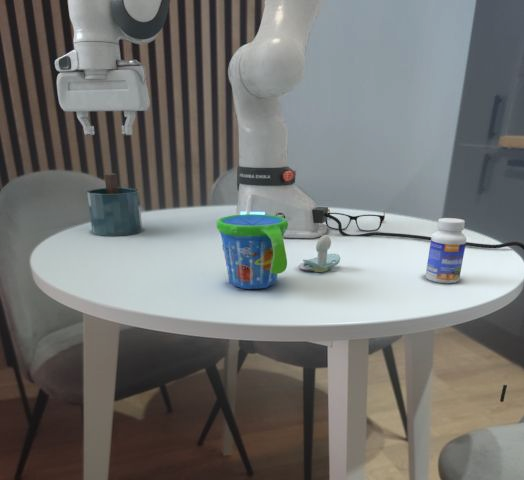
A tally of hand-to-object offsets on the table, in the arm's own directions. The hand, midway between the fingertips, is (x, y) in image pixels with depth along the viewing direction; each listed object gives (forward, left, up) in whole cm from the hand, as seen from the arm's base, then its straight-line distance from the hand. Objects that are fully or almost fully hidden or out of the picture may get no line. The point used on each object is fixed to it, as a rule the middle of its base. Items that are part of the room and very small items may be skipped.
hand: (108, 134), depth 107 cm
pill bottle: (-72, +15, -21) cm, 76 cm away
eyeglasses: (-51, -26, -21) cm, 61 cm away
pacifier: (-51, +16, -21) cm, 57 cm away
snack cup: (-43, +28, -21) cm, 55 cm away
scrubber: (0, 0, -20) cm, 20 cm away
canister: (0, 0, -21) cm, 21 cm away
